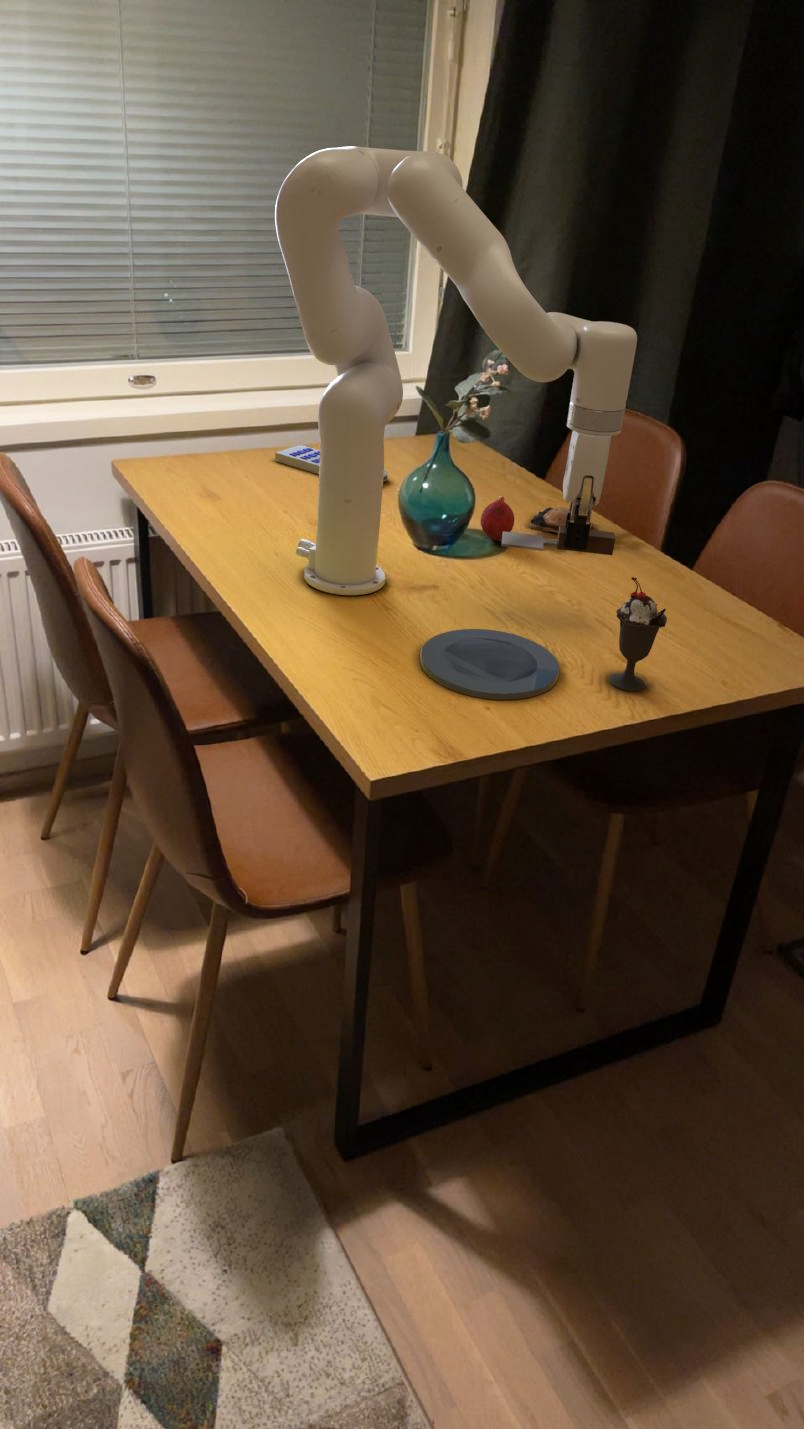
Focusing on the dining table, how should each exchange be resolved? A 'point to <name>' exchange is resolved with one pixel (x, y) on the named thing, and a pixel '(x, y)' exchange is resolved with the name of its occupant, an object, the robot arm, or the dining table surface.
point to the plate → (489, 664)
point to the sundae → (636, 636)
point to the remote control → (304, 458)
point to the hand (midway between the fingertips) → (574, 543)
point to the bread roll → (551, 519)
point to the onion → (497, 519)
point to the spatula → (561, 541)
